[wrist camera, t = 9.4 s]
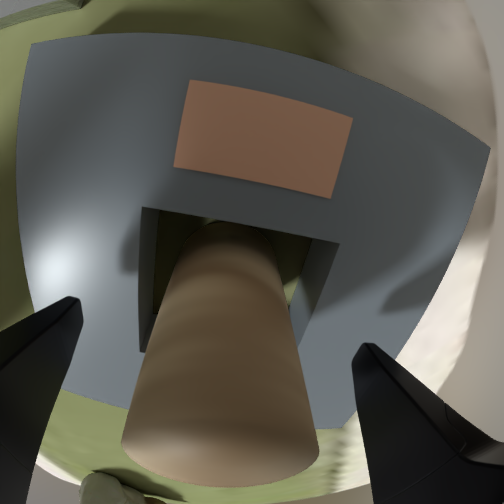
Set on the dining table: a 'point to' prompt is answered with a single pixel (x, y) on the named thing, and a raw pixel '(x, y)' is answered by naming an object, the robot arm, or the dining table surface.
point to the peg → (222, 370)
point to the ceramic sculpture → (110, 491)
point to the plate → (33, 9)
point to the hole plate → (233, 193)
